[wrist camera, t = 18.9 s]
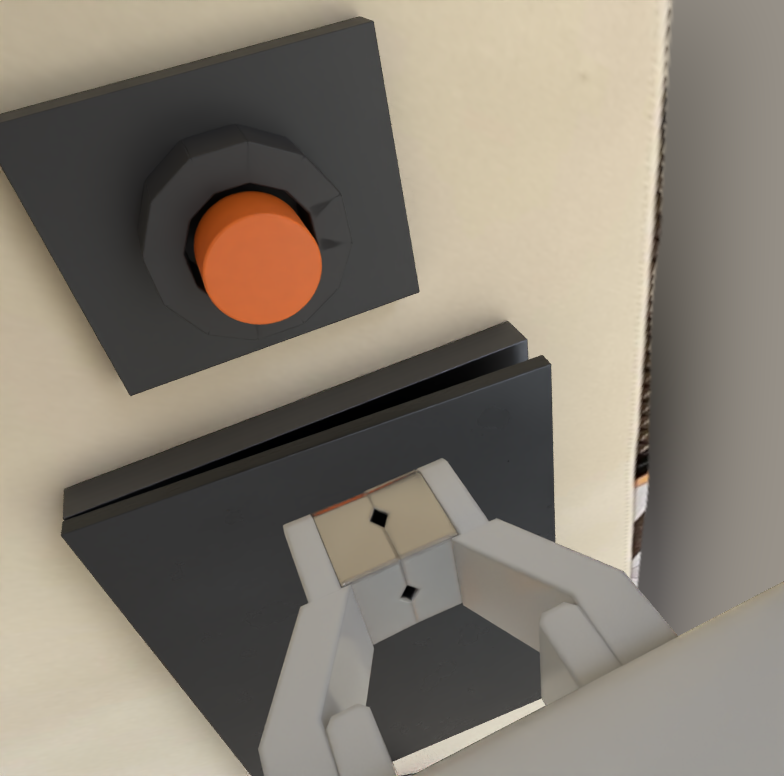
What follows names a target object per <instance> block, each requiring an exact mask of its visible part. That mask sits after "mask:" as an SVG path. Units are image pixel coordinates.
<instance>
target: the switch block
mask: <svg viewBox="0 0 784 776" xmlns="http://www.w3.org/2000/svg"><path fill="white" fill-rule="evenodd" d="M0 165H1V167H2V169H3V171H4V173H5V174H6V176H7V178H8V180H9V181H10V183H11V185H12V187H13V189H14V190H15V192H16V194H17V196H18V197H19V199H20V201H21V203H22V205H23V206H24V208H25V210H26V212H27V213H28V215H29V217H30V219H31V221H32V222H33V224H34V226H35V228H36V229H37V231H38V233H39V235H40V237H41V238H42V240H43V242H44V244H45V245H46V247H47V249H48V251H49V253H50V254H51V256H52V258H53V260H54V261H55V263H56V265H57V267H58V269H59V270H60V272H61V274H62V276H63V277H64V279H65V281H66V283H67V285H68V286H69V288H70V290H71V292H72V293H73V295H74V297H75V299H76V300H77V302H78V304H79V306H80V308H81V309H82V311H83V313H84V315H85V316H86V318H87V320H88V322H89V324H90V325H91V327H92V329H93V331H94V332H95V334H96V336H97V338H98V340H99V341H100V343H101V345H102V347H103V348H104V350H105V352H106V354H107V356H108V357H109V359H110V361H111V363H112V364H113V366H114V368H115V370H116V372H117V373H118V375H119V377H120V379H121V380H122V382H123V384H124V386H125V388H126V389H127V391H128V393H129V395H130V396H132V395H135V394H138V393H140V392H143V391H146V390H149V389H152V388H154V387H157V386H160V385H163V384H165V383H168V382H171V381H174V380H177V379H179V378H182V377H185V376H188V375H190V374H193V373H196V372H199V371H202V370H204V369H207V368H210V367H213V366H216V365H218V364H221V363H224V362H227V361H229V360H232V359H235V358H238V357H241V356H243V355H246V354H249V353H252V352H254V351H257V350H260V349H263V348H266V347H268V346H271V345H274V344H277V343H279V342H282V341H285V340H288V339H291V338H293V337H296V336H299V335H302V334H305V333H307V332H310V331H313V330H316V329H318V328H321V327H324V326H327V325H330V324H332V323H335V322H338V321H341V320H343V319H346V318H349V317H352V316H355V315H357V314H360V313H363V312H366V311H368V310H371V309H374V308H377V307H380V306H382V305H385V304H388V303H391V302H394V301H396V300H399V299H402V298H405V297H407V296H410V295H413V294H416V293H419V286H418V280H417V274H416V268H415V262H414V256H413V250H412V244H411V239H410V233H409V227H408V221H407V215H406V209H405V203H404V197H403V192H402V186H401V180H400V174H399V168H398V162H397V156H396V150H395V144H394V139H393V133H392V127H391V121H390V115H389V109H388V103H387V97H386V92H385V86H384V80H383V74H382V68H381V62H380V56H379V50H378V45H377V39H376V33H375V27H374V22H373V21H372V20H369V19H366V18H363V17H356V18H352V19H349V20H345V21H341V22H338V23H334V24H330V25H327V26H323V27H319V28H316V29H312V30H308V31H305V32H301V33H297V34H293V35H290V36H286V37H282V38H279V39H275V40H271V41H268V42H264V43H260V44H257V45H253V46H249V47H246V48H242V49H238V50H235V51H231V52H227V53H223V54H220V55H216V56H212V57H209V58H205V59H201V60H198V61H194V62H190V63H187V64H183V65H179V66H176V67H172V68H168V69H164V70H161V71H157V72H153V73H150V74H146V75H142V76H139V77H135V78H131V79H128V80H124V81H120V82H117V83H113V84H109V85H106V86H102V87H98V88H94V89H91V90H87V91H83V92H80V93H76V94H72V95H69V96H65V97H61V98H58V99H54V100H50V101H47V102H43V103H39V104H36V105H32V106H28V107H24V108H21V109H17V110H13V111H10V112H6V113H2V114H0ZM243 191H259V192H265V193H268V194H271V195H273V196H276V197H278V198H280V199H281V200H283V201H284V202H286V203H287V204H288V205H289V206H290V207H291V208H292V209H293V210H294V211H295V212H296V214H297V215H298V217H299V218H300V219H301V221H302V222H303V224H304V225H305V226H306V228H307V229H308V230H309V232H310V233H311V235H312V236H313V237H314V239H315V241H316V243H317V245H318V247H319V250H320V254H321V259H322V272H321V278H320V282H319V284H318V287H317V289H316V291H315V293H314V295H313V296H312V298H311V299H310V301H309V302H308V303H307V304H306V305H305V306H304V307H303V308H302V309H301V310H300V311H298V312H297V313H296V314H294V315H292V316H291V317H289V318H287V319H284V320H282V321H279V322H275V323H271V324H261V325H258V324H248V323H244V322H240V321H237V320H235V319H233V318H231V317H229V316H227V315H226V314H224V313H223V312H222V311H220V310H219V309H218V308H217V307H216V306H215V305H214V304H213V302H212V301H211V299H210V298H209V296H208V294H207V292H206V290H205V286H204V283H203V280H202V277H201V274H200V271H199V268H198V265H197V262H196V259H195V254H194V236H195V232H196V229H197V226H198V224H199V222H200V220H201V218H202V217H203V215H204V214H205V213H206V211H207V210H208V209H209V208H210V207H211V206H212V205H213V204H215V203H216V202H217V201H219V200H220V199H222V198H224V197H226V196H228V195H231V194H234V193H238V192H243Z"/></svg>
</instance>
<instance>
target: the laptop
mask: <svg viewBox="0 0 784 776" xmlns="http://www.w3.org/2000/svg"><path fill="white" fill-rule="evenodd" d="M526 360H528V343H527V339H526V338H525V337H524V336H523V335H522V334H521V333H520V332H519V331H518V330H517V329H516V328H515V327H514V326H513V325H512V324H511V323H509V322H505V323H502V324H500V325H497V326H494V327H492V328H489V329H487V330H484V331H481V332H479V333H476V334H473V335H471V336H468V337H465V338H463V339H460V340H457V341H455V342H452V343H450V344H447V345H444V346H442V347H439V348H436V349H434V350H431V351H428V352H426V353H423V354H420V355H418V356H415V357H413V358H410V359H407V360H405V361H402V362H399V363H397V364H394V365H391V366H389V367H386V368H383V369H381V370H378V371H376V372H373V373H370V374H368V375H365V376H362V377H360V378H357V379H354V380H352V381H349V382H347V383H344V384H341V385H339V386H336V387H333V388H331V389H328V390H325V391H323V392H320V393H317V394H315V395H312V396H310V397H307V398H304V399H302V400H299V401H296V402H294V403H291V404H288V405H286V406H283V407H280V408H278V409H275V410H273V411H270V412H267V413H265V414H262V415H259V416H257V417H254V418H251V419H249V420H246V421H243V422H241V423H238V424H236V425H233V426H230V427H228V428H225V429H222V430H220V431H217V432H214V433H212V434H209V435H206V436H204V437H201V438H199V439H196V440H193V441H191V442H188V443H185V444H183V445H180V446H177V447H175V448H172V449H170V450H167V451H164V452H162V453H159V454H156V455H154V456H151V457H148V458H146V459H143V460H140V461H138V462H135V463H133V464H130V465H127V466H125V467H122V468H119V469H117V470H114V471H111V472H109V473H106V474H103V475H101V476H98V477H96V478H93V479H90V480H88V481H85V482H82V483H80V484H77V485H74V486H72V487H69V488H66V489H64V503H63V520H64V521H65V520H68V519H71V518H74V517H76V516H79V515H82V514H85V513H88V512H91V511H94V510H97V509H99V508H102V507H105V506H108V505H111V504H114V503H117V502H120V501H123V500H125V499H128V498H131V497H134V496H137V495H140V494H143V493H146V492H149V491H151V490H154V489H157V488H160V487H163V486H166V485H169V484H172V483H174V482H177V481H180V480H183V479H186V478H189V477H192V476H195V475H198V474H200V473H203V472H206V471H209V470H212V469H215V468H218V467H221V466H224V465H226V464H229V463H232V462H235V461H238V460H241V459H244V458H247V457H249V456H252V455H255V454H258V453H261V452H264V451H267V450H270V449H273V448H275V447H278V446H281V445H284V444H287V443H290V442H293V441H296V440H299V439H301V438H304V437H307V436H310V435H313V434H316V433H319V432H322V431H324V430H327V429H330V428H333V427H336V426H339V425H342V424H345V423H348V422H350V421H353V420H356V419H359V418H362V417H365V416H368V415H371V414H374V413H376V412H379V411H382V410H385V409H388V408H391V407H394V406H397V405H399V404H402V403H405V402H408V401H411V400H414V399H417V398H420V397H423V396H425V395H428V394H431V393H434V392H437V391H440V390H443V389H446V388H449V387H451V386H454V385H457V384H460V383H463V382H466V381H469V380H472V379H474V378H477V377H480V376H483V375H486V374H489V373H492V372H495V371H498V370H500V369H503V368H506V367H509V366H512V365H515V364H518V363H521V362H524V361H526Z"/></svg>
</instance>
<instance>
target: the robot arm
mask: <svg viewBox="0 0 784 776" xmlns="http://www.w3.org/2000/svg"><path fill="white" fill-rule="evenodd" d="M312 516H313V518H312ZM312 516H311V514H309V515H307V516H304V517H302V518H299V519H297V520H294V521H292V522H289V523H287V524H284V525H283V528H284V534H285V537H286V540H287V542H288V545H289V548H290V551H291V554H292V557H293V560H294V563H295V566H296V568H297V571H298V574H299V577H300V580H301V583H302V586H303V589H304V592H305V594H306V597H307V600H308V603H307V604H305V605H303V606H301V607H300V609H299V613H298V616H297V620H296V623H295V626H294V630H293V633H292V636H291V640H290V643H289V647H288V650H287V653H286V657H285V660H284V663H283V667H282V670H281V674H280V677H279V680H278V684H277V687H276V690H275V694H274V697H273V701H272V704H271V707H270V711H269V714H268V717H267V721H266V724H265V728H264V731H263V734H262V738H261V741H260V744H259V748H258V751H259V755H260V760H261V764H262V769H263V773H264V776H398V774H397V772H396V769H395V767H394V764H393V762H392V760H391V757H390V755H389V752H388V750H387V748H386V745H385V743H384V740H383V738H382V736H381V733H380V731H379V728H378V726H377V724H376V721H375V719H374V717H373V714H372V712H371V709H370V707H367V706H366V701H367V694H368V687H369V680H370V673H371V666H372V659H373V652H374V647H373V645H374V644H376V643H378V642H380V641H382V640H384V639H386V638H388V637H390V636H392V635H394V634H396V633H398V632H400V631H402V630H404V629H406V628H408V627H410V626H412V625H414V624H416V623H417V622H420V621H422V620H425V619H427V618H429V617H431V616H434V615H436V614H438V613H440V612H443V611H445V610H447V609H450V608H452V607H454V606H456V605H459V604H461V603H463V605H464V606H465V607H467V608H469V609H470V610H472V611H474V612H475V613H477V614H478V615H480V616H482V617H483V618H485V619H486V620H488V621H490V622H491V623H493V624H495V625H496V626H498V627H499V628H501V629H503V630H504V631H506V632H508V633H509V634H511V635H512V636H514V637H516V638H517V639H519V640H520V641H522V642H524V643H525V644H527V645H529V646H530V647H532V648H533V649H535V650H537V651H538V652H540V673H541V698H542V700H543V702H544V703H545V705H546V706H544V707H542V708H540V709H538V710H536V711H534V712H533V713H531V714H529V715H527V716H525V717H523V718H521V719H519V720H517V721H515V722H513V723H511V724H510V725H508V726H506V727H504V728H502V729H500V730H498V731H496V732H494V733H492V734H490V735H488V736H487V737H485V738H483V739H481V740H479V741H477V742H475V743H473V744H471V745H469V746H467V747H465V748H464V749H462V750H460V751H458V752H456V753H454V754H452V755H450V756H448V757H446V758H444V759H442V760H441V761H439V762H437V763H435V764H433V765H431V766H429V767H427V768H425V769H423V770H421V771H419V772H418V773H416V774H414V775H412V776H784V581H783V582H781V583H780V584H778V585H776V586H774V587H772V588H770V589H768V590H766V591H764V592H762V593H760V594H759V595H757V596H755V597H753V598H751V599H749V600H747V601H745V602H743V603H741V604H739V605H737V606H736V607H734V608H732V609H730V610H728V611H726V612H724V613H722V614H720V615H718V616H716V617H715V618H713V619H711V620H709V621H707V622H705V623H703V624H701V625H699V626H697V627H696V628H693V629H692V630H690V631H688V632H686V633H684V634H682V635H680V636H677V634H676V633H675V632H674V631H673V629H672V628H671V627H670V626H669V625H668V624H667V622H666V621H665V620H664V619H663V618H662V616H661V615H660V614H659V613H658V612H657V610H656V609H655V608H654V607H653V606H652V605H651V603H650V602H649V601H648V600H647V599H646V597H645V596H644V595H643V594H642V593H641V591H639V589H638V588H637V587H636V586H635V584H634V583H633V582H632V581H631V580H630V578H629V577H628V576H627V575H626V574H625V572H624V571H622V570H619V569H617V568H614V567H612V566H610V565H607V564H605V563H603V562H600V561H598V560H595V559H593V558H591V557H588V556H586V555H583V554H581V553H579V552H576V551H574V550H571V549H569V548H567V547H564V546H562V545H559V544H557V543H555V542H552V541H550V540H548V539H545V538H543V537H540V536H538V535H536V534H533V533H531V532H528V531H526V530H524V529H521V528H519V527H516V526H514V525H512V524H509V523H507V522H504V521H502V520H500V519H497V518H496V519H494V520H491V521H488V519H487V518H486V516H485V515H484V513H483V512H482V511H481V509H480V508H479V506H478V505H477V503H476V502H475V500H474V499H473V498H472V496H471V495H470V493H469V492H468V490H467V489H466V488H465V486H464V485H463V483H462V482H461V480H460V479H459V478H458V476H457V475H456V473H455V472H454V470H453V469H452V467H451V466H450V465H449V463H448V462H447V461H446V460H445V459H443V458H441V459H439V460H436V461H434V462H432V463H429V464H427V465H425V466H422V467H420V468H418V469H417V470H415V469H414V470H412V471H410V472H408V473H405V474H403V475H401V476H398V477H396V478H394V479H392V480H389V481H387V482H385V483H382V484H380V485H378V486H376V487H373V488H371V489H369V490H366V491H364V493H361V494H359V495H356V496H354V497H351V498H349V499H346V500H344V501H341V502H338V503H336V504H333V505H331V506H328V507H326V508H323V509H321V510H318V511H316V512H313V513H312ZM313 519H314V520H313ZM315 524H316V525H315Z"/></svg>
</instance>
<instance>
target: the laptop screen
mask: <svg viewBox="0 0 784 776" xmlns="http://www.w3.org/2000/svg"><path fill="white" fill-rule="evenodd" d="M441 458H443V459H445V460H446V461H447V462H448V463H449V465H450V466H451V467H452V469H453V470H454V472H455V473H456V475H457V476H458V478H459V479H460V480H461V482H462V483H463V485H464V486H465V488H466V489H467V490H468V492H469V493H470V495H471V496H472V498H473V499H474V500H475V502H476V503H477V505H478V506H479V508H480V509H481V511H482V512H483V513H484V515H485V516H486V518H487V519H488V521H491V520H494V519H496V518H497V519H500V520H502V521H504V522H507V523H509V524H512V525H514V526H516V527H519V528H521V529H524V530H526V531H528V532H531V533H533V534H536V535H538V536H540V537H543V538H545V539H548V540H550V541H552V542H555V510H554V468H553V425H552V383H551V364H550V363H549V361H548V360H547V359H546V358H545V357H544V356H543V355H541V356H538V357H535V358H532V359H529V360H526V361H524V362H521V363H518V364H515V365H512V366H509V367H506V368H503V369H500V370H498V371H495V372H492V373H489V374H486V375H483V376H480V377H477V378H474V379H472V380H469V381H466V382H463V383H460V384H457V385H454V386H451V387H449V388H446V389H443V390H440V391H437V392H434V393H431V394H428V395H425V396H423V397H420V398H417V399H414V400H411V401H408V402H405V403H402V404H399V405H397V406H394V407H391V408H388V409H385V410H382V411H379V412H376V413H374V414H371V415H368V416H365V417H362V418H359V419H356V420H353V421H350V422H348V423H345V424H342V425H339V426H336V427H333V428H330V429H327V430H324V431H322V432H319V433H316V434H313V435H310V436H307V437H304V438H301V439H299V440H296V441H293V442H290V443H287V444H284V445H281V446H278V447H275V448H273V449H270V450H267V451H264V452H261V453H258V454H255V455H252V456H249V457H247V458H244V459H241V460H238V461H235V462H232V463H229V464H226V465H224V466H221V467H218V468H215V469H212V470H209V471H206V472H203V473H200V474H198V475H195V476H192V477H189V478H186V479H183V480H180V481H177V482H174V483H172V484H169V485H166V486H163V487H160V488H157V489H154V490H151V491H149V492H146V493H143V494H140V495H137V496H134V497H131V498H128V499H125V500H123V501H120V502H117V503H114V504H111V505H108V506H105V507H102V508H99V509H97V510H94V511H91V512H88V513H85V514H82V515H79V516H76V517H74V518H71V519H68V520H65V521H63V522H62V530H61V536H62V538H63V539H64V540H65V541H66V543H67V544H68V545H69V546H70V548H71V549H72V550H73V551H74V553H75V554H76V555H77V556H78V558H79V559H80V560H81V562H82V563H83V564H84V565H85V567H86V568H87V569H88V570H89V572H90V573H91V574H92V575H93V577H94V578H95V579H96V580H97V582H98V583H99V584H100V585H101V587H102V588H103V589H104V591H105V592H106V593H107V594H108V596H109V597H110V598H111V599H112V601H113V602H114V603H115V604H116V606H117V607H118V608H119V609H120V611H121V612H122V613H123V614H124V616H125V617H126V618H127V620H128V621H129V622H130V623H131V625H132V626H133V627H134V628H135V630H136V631H137V632H138V633H139V635H140V636H141V637H142V638H143V640H144V641H145V642H146V643H147V645H148V646H149V647H150V649H151V650H152V651H153V652H154V654H155V655H156V656H157V657H158V659H159V660H160V661H161V662H162V664H163V665H164V666H165V667H166V669H167V670H168V671H169V672H170V674H171V675H172V676H173V678H174V679H175V680H176V681H177V683H178V684H179V685H180V686H181V688H182V689H183V690H184V691H185V693H186V694H187V695H188V696H189V698H190V699H191V700H192V701H193V703H194V704H195V705H196V707H197V708H198V709H199V710H200V712H201V713H202V714H203V715H204V717H205V718H206V719H207V720H208V722H209V723H210V724H211V725H212V727H213V728H214V729H215V730H216V732H217V733H218V734H219V736H220V737H221V738H222V739H223V741H224V742H225V743H226V744H227V746H228V747H229V748H230V749H231V751H232V752H233V753H234V754H235V756H236V757H237V758H238V759H239V761H240V762H241V763H242V765H243V766H244V767H245V768H246V770H247V771H248V772H249V773H250V775H251V776H264V773H263V769H262V764H261V760H260V755H259V751H258V748H259V744H260V741H261V738H262V734H263V731H264V728H265V724H266V721H267V717H268V714H269V711H270V707H271V704H272V701H273V697H274V694H275V690H276V687H277V684H278V680H279V677H280V674H281V670H282V667H283V663H284V660H285V657H286V653H287V650H288V647H289V643H290V640H291V636H292V633H293V630H294V626H295V623H296V620H297V616H298V613H299V609H300V607H301V606H303V605H305V604H307V603H308V600H307V597H306V594H305V592H304V589H303V586H302V583H301V580H300V577H299V574H298V571H297V568H296V566H295V563H294V560H293V557H292V554H291V551H290V548H289V545H288V542H287V540H286V537H285V534H284V528H283V525H284V524H287V523H289V522H292V521H294V520H297V519H299V518H302V517H304V516H307V515H309V514H311V516H312V513H313V512H316V511H318V510H321V509H323V508H326V507H328V506H331V505H333V504H336V503H338V502H341V501H344V500H346V499H349V498H351V497H354V496H356V495H359V494H361V493H364V491H366V490H369V489H371V488H373V487H376V486H378V485H380V484H382V483H385V482H387V481H389V480H392V479H394V478H396V477H398V476H401V475H403V474H405V473H408V472H410V471H412V470H414V469H415V470H417V469H418V468H420V467H422V466H425V465H427V464H429V463H432V462H434V461H436V460H439V459H441ZM312 518H313V516H312ZM313 520H314V519H313ZM315 525H316V524H315ZM373 647H374V652H373V659H372V666H371V673H370V680H369V687H368V694H367V701H366V706H367V707H370V709H371V712H372V714H373V717H374V719H375V721H376V724H377V726H378V728H379V731H380V733H381V736H382V738H383V740H384V743H385V745H386V748H387V750H388V752H389V755H390V757H391V760H392V762H393V761H395V760H397V759H400V758H402V757H405V756H407V755H409V754H412V753H414V752H416V751H419V750H421V749H423V748H426V747H428V746H430V745H433V744H435V743H438V742H440V741H442V740H445V739H447V738H449V737H452V736H454V735H456V734H459V733H461V732H463V731H466V730H468V729H470V728H473V727H475V726H478V725H480V724H482V723H485V722H487V721H489V720H492V719H494V718H496V717H499V716H501V715H503V714H506V713H508V712H511V711H513V710H515V709H518V708H520V707H522V706H525V705H527V704H529V703H532V702H534V701H536V700H539V699H541V673H540V652H538V651H537V650H535V649H533V648H532V647H530V646H529V645H527V644H525V643H524V642H522V641H520V640H519V639H517V638H516V637H514V636H512V635H511V634H509V633H508V632H506V631H504V630H503V629H501V628H499V627H498V626H496V625H495V624H493V623H491V622H490V621H488V620H486V619H485V618H483V617H482V616H480V615H478V614H477V613H475V612H474V611H472V610H470V609H469V608H467V607H465V606H464V605H463V603H461V604H459V605H456V606H454V607H452V608H450V609H447V610H445V611H443V612H440V613H438V614H436V615H434V616H431V617H429V618H427V619H425V620H422V621H420V622H417V623H416V624H414V625H412V626H410V627H408V628H406V629H404V630H402V631H400V632H398V633H396V634H394V635H392V636H390V637H388V638H386V639H384V640H382V641H380V642H378V643H376V644H374V645H373Z"/></svg>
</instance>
